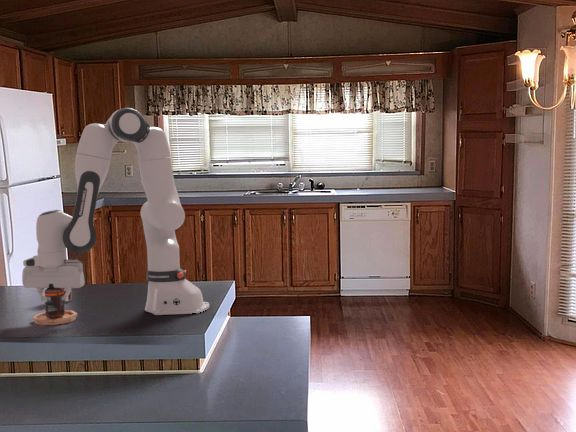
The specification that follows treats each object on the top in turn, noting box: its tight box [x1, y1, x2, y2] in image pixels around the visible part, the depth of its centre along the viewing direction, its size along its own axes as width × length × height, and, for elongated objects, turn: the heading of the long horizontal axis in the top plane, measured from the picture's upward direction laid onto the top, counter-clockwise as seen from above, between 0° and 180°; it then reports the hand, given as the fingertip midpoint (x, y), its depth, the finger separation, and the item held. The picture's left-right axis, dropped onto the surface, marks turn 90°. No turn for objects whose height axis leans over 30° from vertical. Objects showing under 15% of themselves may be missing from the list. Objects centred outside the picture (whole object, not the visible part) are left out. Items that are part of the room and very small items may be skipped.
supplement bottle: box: [44, 284, 66, 318], centre depth 201 cm, size 6×6×11 cm
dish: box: [32, 309, 78, 326], centre depth 202 cm, size 13×13×2 cm
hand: (54, 300), depth 202 cm, fingers closed on supplement bottle, 6 cm apart
